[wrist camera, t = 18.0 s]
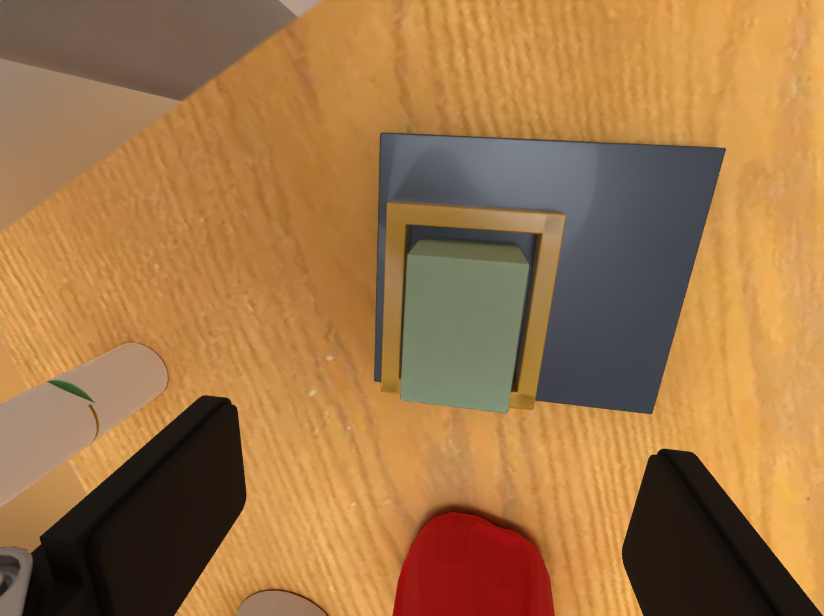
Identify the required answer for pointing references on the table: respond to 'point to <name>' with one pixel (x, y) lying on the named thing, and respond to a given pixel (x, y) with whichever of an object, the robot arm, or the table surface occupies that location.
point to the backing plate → (555, 251)
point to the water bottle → (472, 572)
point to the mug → (278, 605)
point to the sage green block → (462, 322)
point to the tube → (73, 413)
